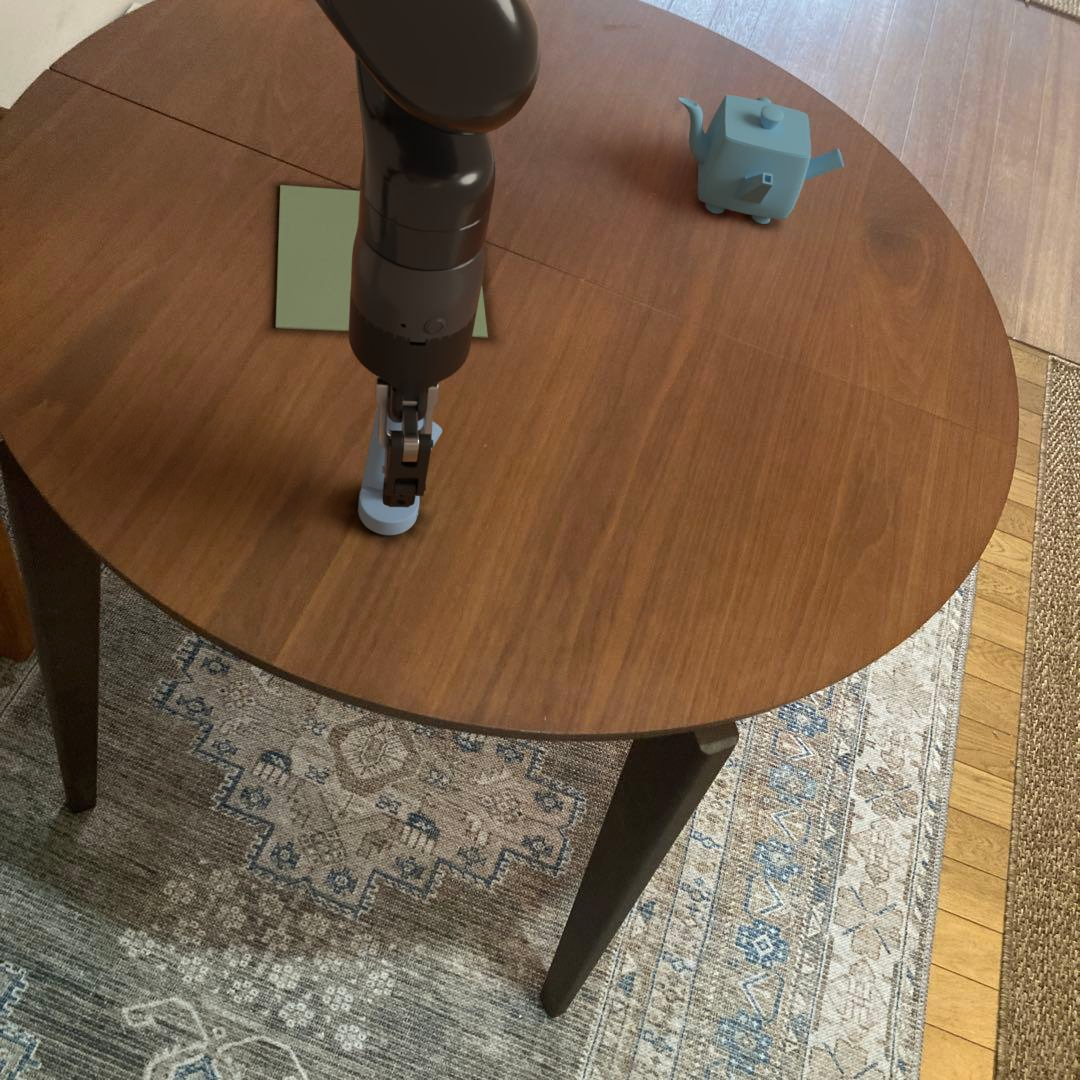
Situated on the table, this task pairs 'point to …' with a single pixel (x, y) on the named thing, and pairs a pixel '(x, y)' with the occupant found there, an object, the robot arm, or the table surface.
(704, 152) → the teapot
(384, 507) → the spotlight
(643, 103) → the table surface
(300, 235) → the mat
